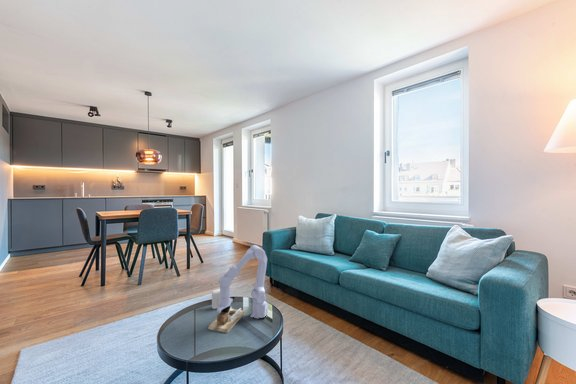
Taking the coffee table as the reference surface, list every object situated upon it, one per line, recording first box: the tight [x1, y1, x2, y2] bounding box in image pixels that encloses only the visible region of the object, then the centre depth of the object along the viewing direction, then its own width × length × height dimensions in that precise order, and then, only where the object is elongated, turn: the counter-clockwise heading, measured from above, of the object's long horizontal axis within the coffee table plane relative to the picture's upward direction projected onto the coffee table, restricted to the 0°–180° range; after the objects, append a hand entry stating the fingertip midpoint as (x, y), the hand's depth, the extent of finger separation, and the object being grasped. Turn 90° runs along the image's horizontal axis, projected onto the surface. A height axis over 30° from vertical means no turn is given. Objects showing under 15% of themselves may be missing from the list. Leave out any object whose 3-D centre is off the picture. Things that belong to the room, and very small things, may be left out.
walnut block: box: [216, 312, 228, 325], centre depth 155 cm, size 5×5×5 cm
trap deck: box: [208, 308, 246, 333], centre depth 160 cm, size 12×22×2 cm, turn 163°
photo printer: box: [211, 288, 220, 310], centre depth 178 cm, size 10×4×12 cm, turn 109°
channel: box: [229, 306, 242, 321], centre depth 164 cm, size 8×13×2 cm, turn 163°
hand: (225, 318), depth 158 cm, fingers closed, pressing on walnut block
